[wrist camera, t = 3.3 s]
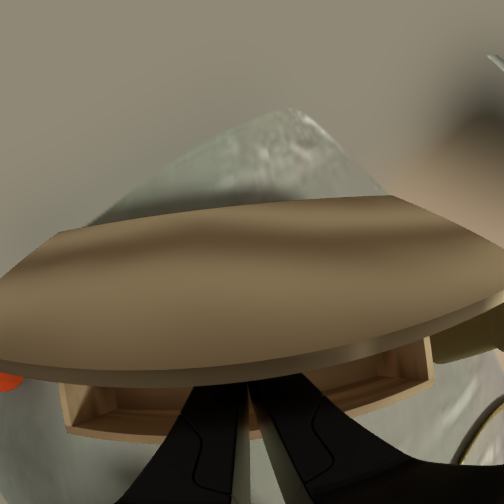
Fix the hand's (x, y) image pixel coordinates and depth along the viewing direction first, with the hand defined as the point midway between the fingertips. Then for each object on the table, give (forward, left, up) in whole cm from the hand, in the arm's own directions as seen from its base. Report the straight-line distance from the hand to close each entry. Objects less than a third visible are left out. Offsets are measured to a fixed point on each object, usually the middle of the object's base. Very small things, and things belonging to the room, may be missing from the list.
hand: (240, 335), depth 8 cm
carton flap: (+3, 0, -1) cm, 3 cm away
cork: (-3, -19, -13) cm, 23 cm away
